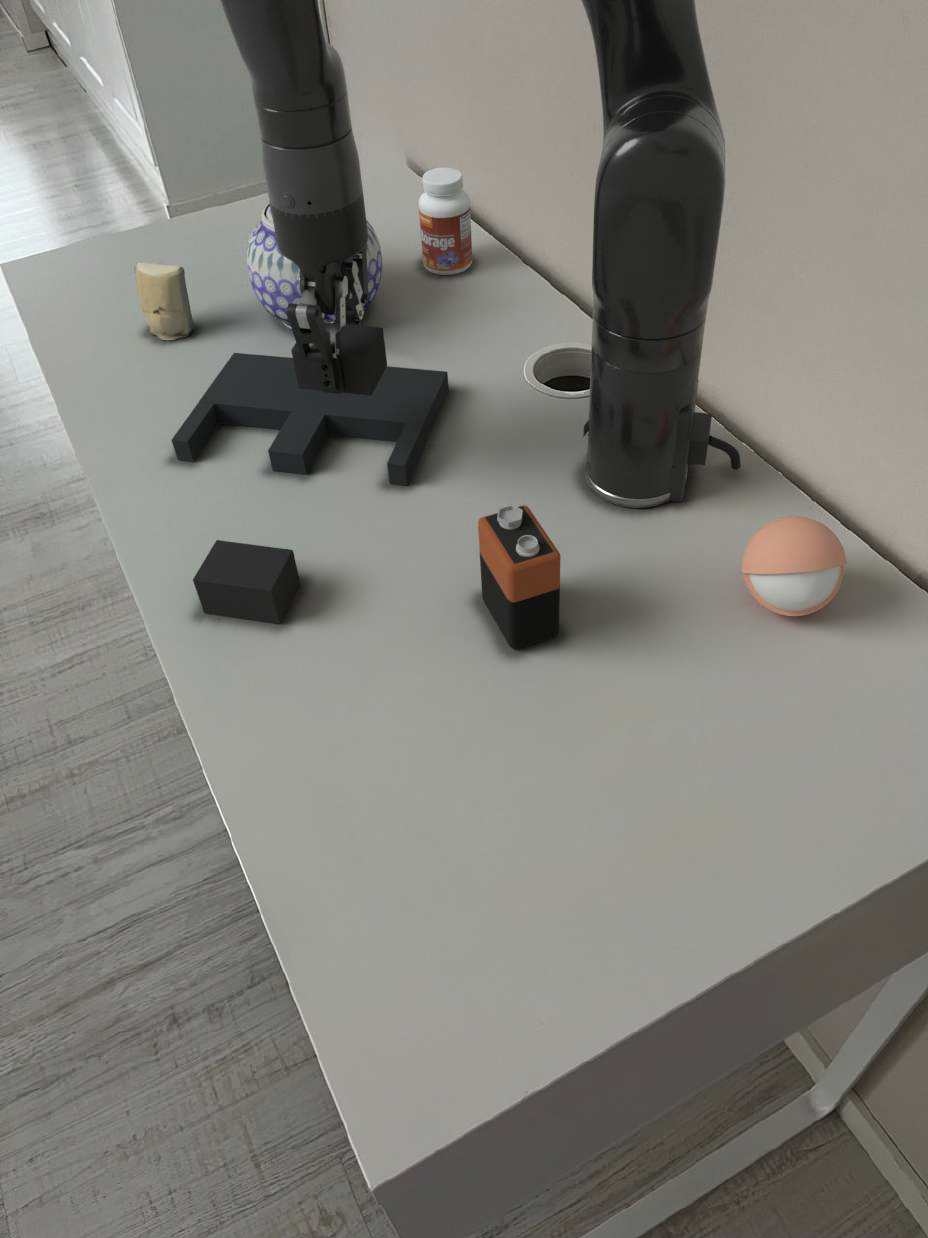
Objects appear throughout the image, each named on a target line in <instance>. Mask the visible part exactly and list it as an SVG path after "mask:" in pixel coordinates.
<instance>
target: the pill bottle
mask: <svg viewBox="0 0 928 1238" xmlns="http://www.w3.org/2000/svg"><path fill="white" fill-rule="evenodd" d="M463 187H464V181H463V174H462V171H460V170H458V169H457V168H453V167H436V168H431V169H430V170H427V171H425V173H423V175H422V188H423V191H424V192H423V193H422V194H421V195H420V197H419V199H418V214H419V227H420V242H421V251H422V252H421V253H422V254H421V255H422V263H423V267H424V268H425V269H426V270H427V271H428V272H429V273H432V274H434V275H440V276H451V275H457V274H461V273H464V272H465V271H467V270H468V269H469V268H470V267H471V265H472V263H473V242H472V240H473V239H472V220H471V219H472V217H471V199H470V196H469V194H468V193H467V192H466V191H465V190H464V189H463Z"/></svg>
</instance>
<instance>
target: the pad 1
mask: <svg viewBox="0 0 928 1238" xmlns="http://www.w3.org/2000/svg"><path fill="white" fill-rule="evenodd" d="M192 583H193V584H194V587H195V591H196V593H197V598H198V599H199V602H200V605H201V608H202V612H203V613H204V614H208V615H215V616H222V617H228V618H237V619H241V620H242V619H243V620H249V621H256V622H261V623H269V624H277V625H281V624H282V622H283V620H284V618H285V616H286V614H287V612H288V610H289V608H290V606H291V604H292V602H293V600H294V598H295V596H296V594H297V593H298V590H299V588H300V586H301V584H302V583H301V579H300V574H299V571H298V565H297V562H296V558H295V553H294V550H293V549H289V548H283V547H275V546H266V545H259V544H251V543H242V542H235V541H226V540H220V539H217V540H215V542H214V544H213V545H212V547H211V549H210V550H209V551H208V554H207V555H206V556H205V559H204V560H203V561H202V564H201V565H200V567H199V568H198V570H197V572H196V573H195V575H194V577H193V578H192Z"/></svg>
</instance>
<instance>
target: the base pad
mask: <svg viewBox="0 0 928 1238" xmlns="http://www.w3.org/2000/svg"><path fill="white" fill-rule="evenodd" d="M448 375H449V374H448V371H445V370H444V371H443V370H433V369H424V368H423V369H421V368H412V367H410V368H409V367H401V366H389V365H387V367H386V369H385V371H384V373H383V375H382V376H381V378H380V380H379V382H378V384H377V386H376V388H375V390H374V392H373V394H372V395H361V394H351V393H341V394H336V393H326V392H323V391H321V390H311V389H301V388H299V387H298V382H297V377H296V372H295V367H294V361H293V357H287V356H278V355H277V356H275V355H264V354H252V353H242V352H241V353H240V352H233V354H232V355H231V356H230V358H229V359H228V360H227V362H226V363H225V364H224V366H223V367H222V368H221V370H220V372H219V373H218V374H217V376H216V377H215V379H214V380H213V381H212V383H211V384H210V385H209V387H208V388H207V390H206V391H205V392H204V394H203V395H202V397H201V398H200V399H199V401H198V402H197V403H196V405H195V406H194V407H193V409H192V410H191V412H190V414H189V415H188V416H187V417H186V419H185V420H184V422H183V423H182V424H181V426H180V427H179V428H178V430H177V432H176V433H174V436H173V437H172V439H171V443H172V446H173V450H174V453H175V455H176V459H177V460H178V461H184V462H191V463H193V462H195V460H196V459H197V458H198V456H199V455H200V453H201V452H202V450H203V449H204V448H205V446H206V445H207V443H208V442H209V440H210V439H211V437H212V436H213V434H214V433H215V432H216V430H217V428H218V427H219V425H220V424H221V425H222V424H223V425H232V426H243V427H251V428H261V429H269V430H270V429H272V430H279V431H278V434H277V435H275V438H274V440H273V441H272V443H271V444H270V446H269V447H268V449H267V452H268V457H269V461H270V465H271V469H272V472H279V473H280V472H281V473H289V474H298V475H308V473H309V472H310V470H311V468H312V466H313V464H314V463H315V461H316V459H317V457H318V455H319V454H320V451H321V450H322V448H323V446H324V444H325V443H326V441H327V439H328V438H329V436H337V437H348V438H357V439H366V440H377V441H384V442H385V441H387V442H395V445H394V447H393V450H392V452H391V454H390V456H389V458H388V460H387V461H386V462H387V463H386V466H387V475H388V480H389V481H388V482H389V485H394V486H402V487H403V486H404V487H408V485H409V484H410V482H411V479H412V476H413V474H414V472H415V470H416V468H417V465H418V463H419V460H420V458H421V457H422V454H423V451H424V449H425V447H426V445H427V442H428V440H429V438H430V435H431V434H432V431H433V429H434V428H435V427H434V426H435V424H436V422H437V420H438V418H439V415H440V413H441V411H442V408H443V406H444V404H445V403H446V402H445V401H446V399H447V397H448V395H449V392H450V388H449V387H450V386H449V376H448Z"/></svg>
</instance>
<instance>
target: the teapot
mask: <svg viewBox="0 0 928 1238" xmlns="http://www.w3.org/2000/svg"><path fill="white" fill-rule="evenodd" d="M366 221H367V229H368V241H367V244H366V252H367V275H368V295H369V299H368V302H367V304H363V303H362V307H363V311H364V312H365V311H366V309H367V308H368V306H369V305H370V304H371V303H372V301H373V300H374V298H375V297H376V296H377V294H378V290H379V288H380V286H381V280H382V274H383V256H382V255H383V253H382V248H381V244H380V240H379V238H378V235H377V234H376V232H375V229H374V227H373V226H372V224H371V223H370V221H368V219H366ZM246 268H247V274H248V279H249V281H250V284H251V288H252V290H253V293H254V295H255V297H256V299H257V301H259V303H260V305H262V307H263V308H264V309H265V310H266V313H267V312H268V314H270V315H272V316H273V317H275V318H276V319H278V320H279V321H281V323H282V324H283V325H284V326H285V327H287V328H288V329H291V330H292V328H291V325H290V322H289V319H288V316H287V307H288V305H289V303H292V304H299V302H300V300H301V297H302V295H301V294H300V291H299V276H300V273H299V271H300V269H299V267H298V266H297V265H296V264H295V263H294V262H292V261H291V260H289V259H287V258H286V257H285V256H284V255H283V254H282V253H281V252H280V250H279V248H278V244H277V239H276V234H275V229H274V223H273V218H272V213H271V208H270V202H269V203H267V204H266V205H265V207H264V208H263V210H262V211H261V221H260V222H259V223H258V224H257V225H255V226H254V228H253V230H252V231H251V234H250V235H249V239H248V242H247V248H246ZM323 319H326V320H335V316H334V315H324V318H323Z"/></svg>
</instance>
